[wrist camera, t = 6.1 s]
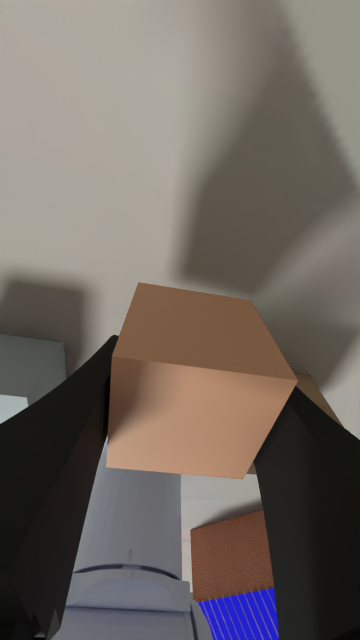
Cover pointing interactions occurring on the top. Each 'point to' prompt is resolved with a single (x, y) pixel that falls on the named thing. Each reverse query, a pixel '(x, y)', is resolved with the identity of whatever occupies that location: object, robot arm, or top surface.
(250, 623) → the house
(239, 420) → the terracotta block
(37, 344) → the slate block
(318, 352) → the top surface
